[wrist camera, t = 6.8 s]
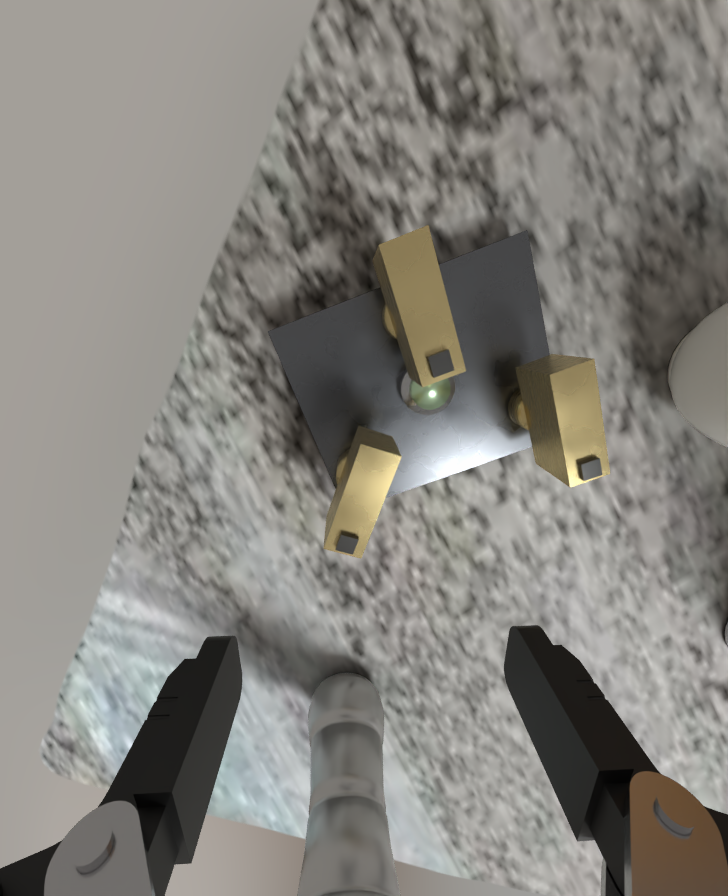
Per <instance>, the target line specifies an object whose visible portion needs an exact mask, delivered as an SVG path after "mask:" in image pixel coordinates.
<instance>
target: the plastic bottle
mask: <svg viewBox="0 0 728 896" xmlns="http://www.w3.org/2000/svg"><path fill="white" fill-rule="evenodd" d="M308 730H309V740H310V747H311V796H310V805H309V818H308V824H307V833H306V843H305V852H304V859H303V864H302V870H301V877H300V882H299V888H298V894H297V896H401V895H400V891H399V885H398V880H397V875H396V870H395V865H394V859H393V854H392V849H391V843H390V836H389V828H388V820H387V815H386V805H385V798H384V789H383V752H382V744H383V737H384V710H383V706H382V703H381V699H380V696H379V692H378V691H377V689H376V688H375V687H374V685H373V684H372V683H371V682H370V681H369V680H368V679H367V678H365V677H363V676H361V675H359V674H355V673H338V674H335V675H332V676H330V677H328V678H326V679H325V680H324V681H322V683H321V684H320V685H319V686H318V688H317V689H316V690H315V691H314V694H313V696H312V700H311V704H310V708H309V713H308Z"/></svg>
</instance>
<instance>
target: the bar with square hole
mask: <svg viewBox="0 0 728 896" xmlns="http://www.w3.org/2000/svg"><path fill="white" fill-rule="evenodd" d="M372 261H373V265H374V268H375V271H376V274H377V277H378V280H379V284H380V287H381V290H382V293H383V296H384V299H385V302H386V303H385V305H384V308H383V311H382V322H383V326H384V328H385V330H386V331H387V333H388V334H389V335H390V336H391V337H393V338H394V339H397V340H398V344H399V347H400V350H401V353H402V356H403V359H404V362H405V366H406V369H407V372H408V375H409V378H410V379H412V380H413V381H414V382H416V383H417V384H419V385H420V386H421V387H425V386H428V385H430V384H433V383H436V382H438V381H441V380H444V379H447V378H449V377H452V376H455V375H457V374H460V373H463V372H465V371H466V368H465V364H464V360H463V356H462V353H461V349H460V345H459V341H458V337H457V333H456V330H455V326H454V322H453V318H452V314H451V310H450V307H449V303H448V299H447V295H446V291H445V287H444V284H443V280H442V276H441V272H440V268H439V264H438V261H437V257H436V253H435V249H434V245H433V241H432V238H431V234H430V230H429V226H428V225H427V226H425V227H422V228H420V229H417V230H415V231H412V232H410V233H407V234H405V235H402V236H400V237H397V238H395V239H392V240H390V241H387V242H385V243H382V244H380V245H378V248H377V250H376V253H375V255H374V258H373V260H372Z"/></svg>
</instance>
